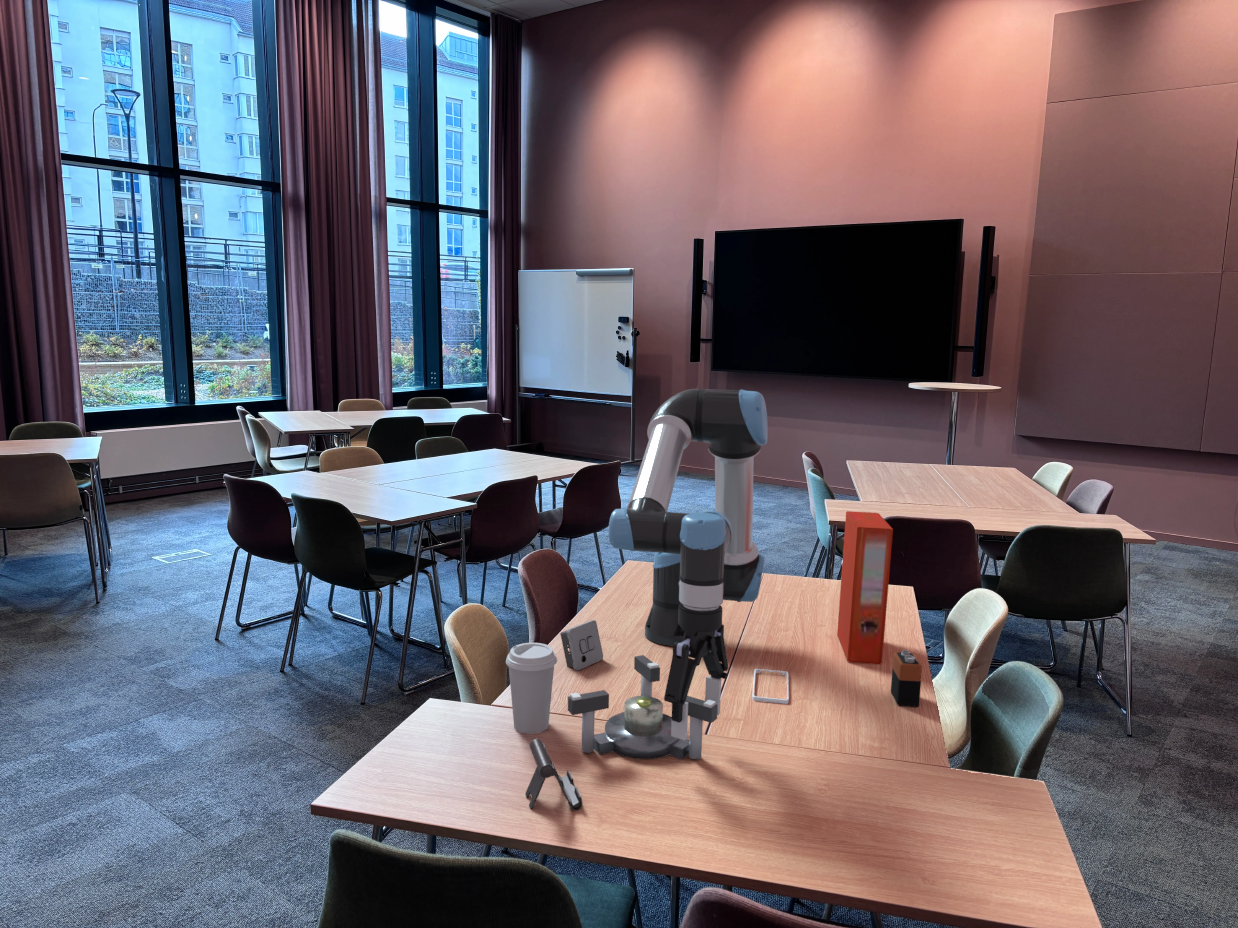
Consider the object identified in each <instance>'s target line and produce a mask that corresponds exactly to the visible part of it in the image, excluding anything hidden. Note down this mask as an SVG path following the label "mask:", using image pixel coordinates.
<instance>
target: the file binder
mask: <svg viewBox="0 0 1238 928" xmlns="http://www.w3.org/2000/svg"><path fill="white" fill-rule="evenodd" d="M844 523H845V524H844V536H843V537H844V539H843V548H842V549H843V551H842V566H841V578H840V588H839V589H840V592H839V605H838V620H837V632H836V633H837V634H836V636H837V638H838V640H839V641H838V642H839V643H840V646H841V649H842V651H843V654H844V656H845V660H846V661H847V662H848V663H853V664H865V665H880V666H881V665H882V664H883V655H884V643H885V632H886V631H885V630H886V618H887V607H888V594H889V585H890V584H889V582H890V570H891V559H892V558H891V557H892V556H891V555H892V545H893V534H894V533H893V532H894V529H893V528H892V526H890V524H889V523H888V522H887V521H886V519H885V518H884V517H883V516H882V515H881V514H880V513H878V512H869V511H868V512H867V511H850V510H849V511H848V510H846V511H845V522H844Z"/></svg>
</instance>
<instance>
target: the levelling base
mask: <svg viewBox="0 0 1238 928" xmlns="http://www.w3.org/2000/svg"><path fill="white" fill-rule="evenodd" d="M663 704H664V703H663V702H662V701H661V700H660V699H658V698H656V697H653V696H652V697H650V696H641V695H636V696H631V697H629V698H627V699H626V700H624V711H623V712H620V713H617V714H614V715H613V716H611V717H610V718H608V719H607V720H606V722H605V724H604V732H600V733H596V734H595V733H594V751H595V752H597V754H598V755H599V756H601V755H604V754H608V753H615V754H617V755H619V756H622V757H625V758H630V759H634V760H635V759H636V760H654V759H660V758H661V759H662V758H665V757H667V756H668V757H669V756H671V757H674V758H676V759H680V760H684V759H685V758H686V757H689V738H687V739H686V740H682V739H679V738H676V737H673V736H671V722H672V716H670V715H668V714H666V713H664V712H663V710H664V705H663Z"/></svg>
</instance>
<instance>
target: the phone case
mask: <svg viewBox="0 0 1238 928" xmlns="http://www.w3.org/2000/svg"><path fill="white" fill-rule="evenodd" d="M753 671H754V673H753V682H752V683H753V684H752V695H751V699H752V700H753V701H755V702H761V703H762V702H764V703H773V704H783V705H787V704H789V701H790V697H789V694H790V693H789V691H790V690H789V689H790V688H789V687H790V686H789V682H790V681H789V672H788V671H784V670H774V669H762V668H761V669H760V668H755V669H754V670H753ZM761 672H769V673H771V672H773V673H781V676H785V678H786V698H785V699H783V698H776V697H765V696H757V695H755V687H756V686H755V685H756V676H757V675H756V674H761Z"/></svg>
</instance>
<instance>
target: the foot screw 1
mask: <svg viewBox="0 0 1238 928" xmlns="http://www.w3.org/2000/svg"><path fill="white" fill-rule="evenodd" d="M609 708H610V694H609V693H608V692H607V691H606V690H605V689H603V690H596V691H592V692H586V693H578V692H573V693H572V692H571V693H569V696H567V711H568V712H569V714H571V716H574V715H580V714H581V751H582V752H583V753H587V754H588V753H592V752H594V751H595V749H594V735H595V712H597V711H601V710H602V711H603V710H606V709H609Z"/></svg>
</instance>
